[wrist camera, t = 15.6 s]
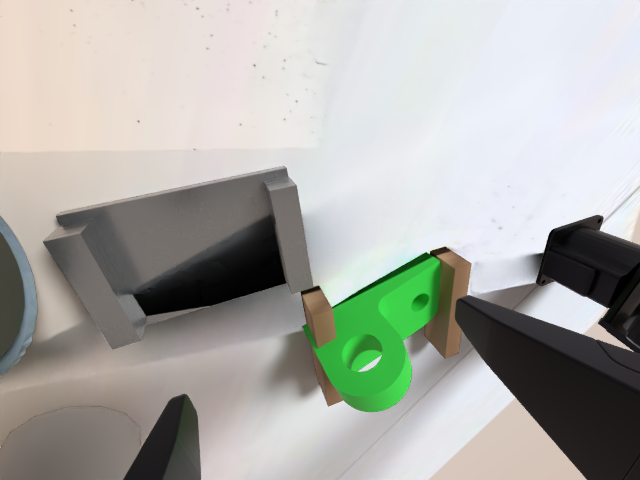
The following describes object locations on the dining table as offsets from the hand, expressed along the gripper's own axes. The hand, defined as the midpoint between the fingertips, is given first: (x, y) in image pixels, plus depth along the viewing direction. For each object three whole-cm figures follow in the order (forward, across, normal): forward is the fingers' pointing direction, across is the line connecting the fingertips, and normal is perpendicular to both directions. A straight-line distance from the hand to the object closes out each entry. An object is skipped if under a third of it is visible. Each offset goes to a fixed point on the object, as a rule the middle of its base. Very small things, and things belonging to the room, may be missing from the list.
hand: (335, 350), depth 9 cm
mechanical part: (+12, -7, +11) cm, 18 cm away
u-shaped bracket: (+12, +5, +1) cm, 13 cm away
